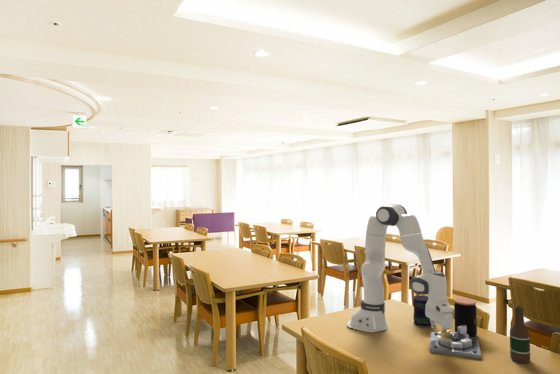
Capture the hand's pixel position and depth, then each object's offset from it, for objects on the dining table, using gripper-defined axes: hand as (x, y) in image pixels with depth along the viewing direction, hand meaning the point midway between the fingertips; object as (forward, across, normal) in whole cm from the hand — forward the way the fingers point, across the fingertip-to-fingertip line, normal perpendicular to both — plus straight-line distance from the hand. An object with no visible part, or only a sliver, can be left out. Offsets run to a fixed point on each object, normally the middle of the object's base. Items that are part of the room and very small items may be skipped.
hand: (438, 331), depth 194 cm
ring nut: (+4, +4, +6) cm, 8 cm away
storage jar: (+7, -28, +6) cm, 29 cm away
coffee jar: (+7, -9, +20) cm, 23 cm away
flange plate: (+6, +4, +6) cm, 9 cm away
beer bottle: (+7, +23, +26) cm, 35 cm away
